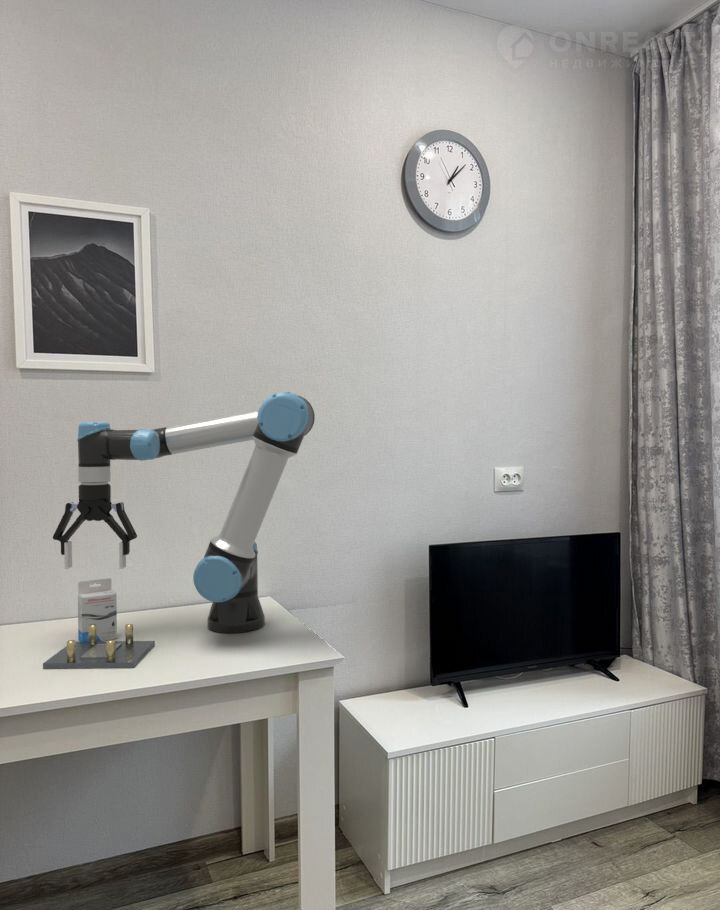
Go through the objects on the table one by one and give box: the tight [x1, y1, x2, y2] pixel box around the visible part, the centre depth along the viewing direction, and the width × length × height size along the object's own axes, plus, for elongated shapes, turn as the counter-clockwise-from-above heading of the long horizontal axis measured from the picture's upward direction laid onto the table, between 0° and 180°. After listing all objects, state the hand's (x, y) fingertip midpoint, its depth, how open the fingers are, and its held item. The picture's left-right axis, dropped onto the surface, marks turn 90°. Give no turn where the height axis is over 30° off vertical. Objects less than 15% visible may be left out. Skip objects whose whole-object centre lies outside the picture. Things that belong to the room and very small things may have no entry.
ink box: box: [77, 577, 118, 642], centre depth 174 cm, size 8×5×15 cm, turn 123°
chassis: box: [42, 623, 156, 670], centre depth 160 cm, size 20×16×6 cm
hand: (95, 567), depth 174 cm, fingers open, 13 cm apart
